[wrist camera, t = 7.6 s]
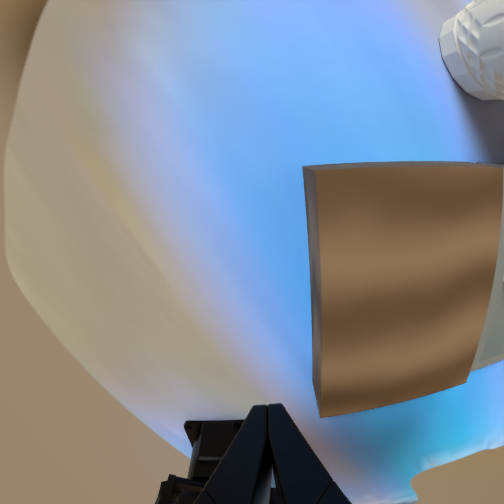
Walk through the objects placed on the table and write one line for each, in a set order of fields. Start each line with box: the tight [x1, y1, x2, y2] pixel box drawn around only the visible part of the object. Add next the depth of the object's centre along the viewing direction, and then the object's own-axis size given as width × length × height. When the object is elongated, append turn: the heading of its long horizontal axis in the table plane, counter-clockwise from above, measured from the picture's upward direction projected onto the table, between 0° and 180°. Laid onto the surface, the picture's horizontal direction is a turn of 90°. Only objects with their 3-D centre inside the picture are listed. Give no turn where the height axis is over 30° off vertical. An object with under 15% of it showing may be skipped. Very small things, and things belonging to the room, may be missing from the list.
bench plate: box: [303, 161, 503, 418], centre depth 18 cm, size 16×12×4 cm
